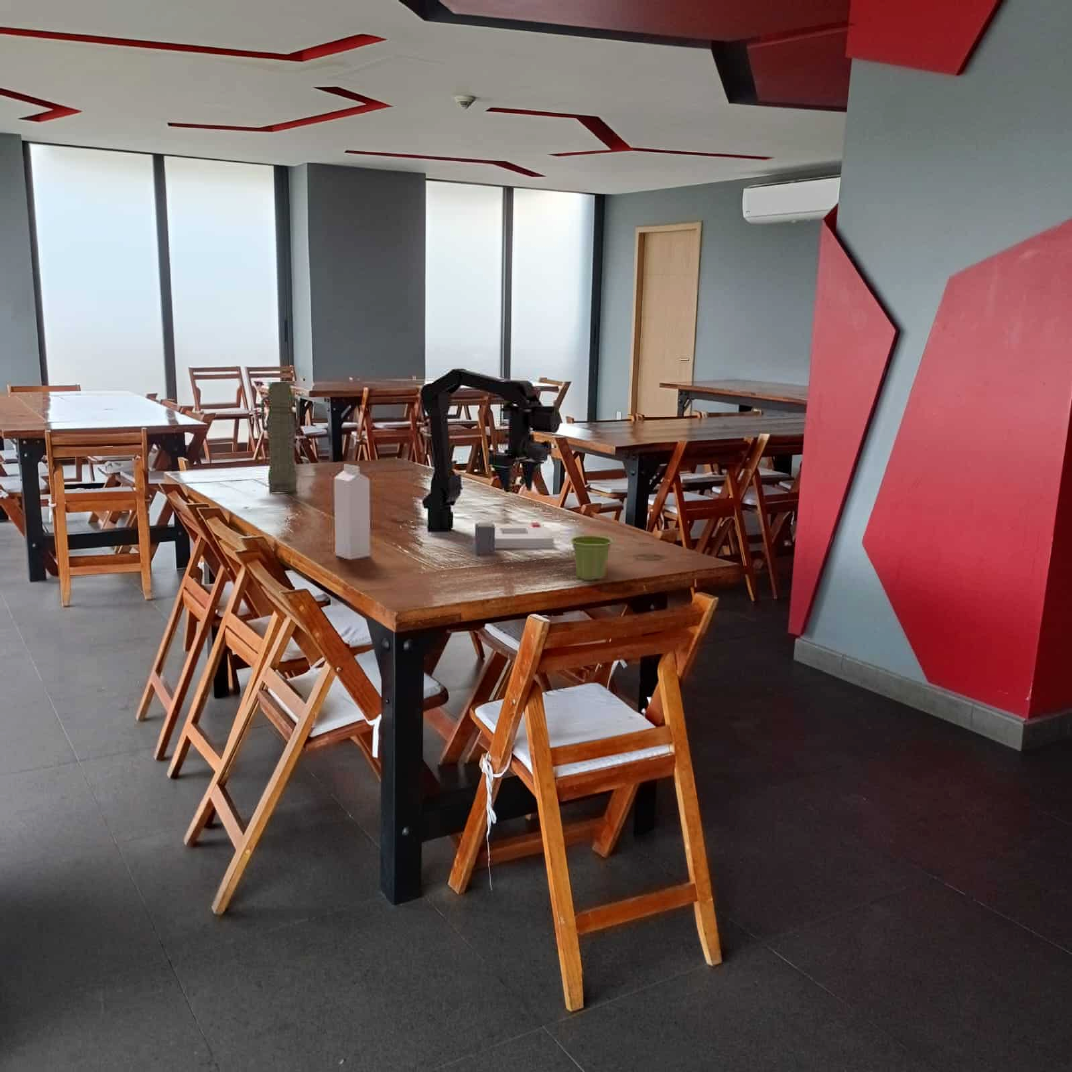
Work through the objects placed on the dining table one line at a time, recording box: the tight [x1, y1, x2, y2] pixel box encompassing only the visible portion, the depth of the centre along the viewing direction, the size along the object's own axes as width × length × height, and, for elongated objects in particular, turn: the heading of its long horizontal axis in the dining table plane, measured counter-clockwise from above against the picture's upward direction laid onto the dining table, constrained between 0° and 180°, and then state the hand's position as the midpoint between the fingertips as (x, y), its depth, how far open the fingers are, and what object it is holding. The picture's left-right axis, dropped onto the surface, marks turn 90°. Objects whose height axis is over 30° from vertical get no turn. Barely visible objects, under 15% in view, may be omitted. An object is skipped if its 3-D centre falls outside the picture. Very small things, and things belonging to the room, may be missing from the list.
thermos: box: [260, 381, 301, 493], centre depth 318 cm, size 9×12×35 cm
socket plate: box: [493, 522, 554, 549], centre depth 259 cm, size 18×18×3 cm
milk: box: [333, 463, 371, 560], centre depth 236 cm, size 6×6×22 cm
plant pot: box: [570, 535, 613, 581], centre depth 224 cm, size 9×9×9 cm
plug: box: [474, 521, 496, 556], centre depth 244 cm, size 4×4×7 cm
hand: (517, 490), depth 257 cm, fingers open, 9 cm apart
